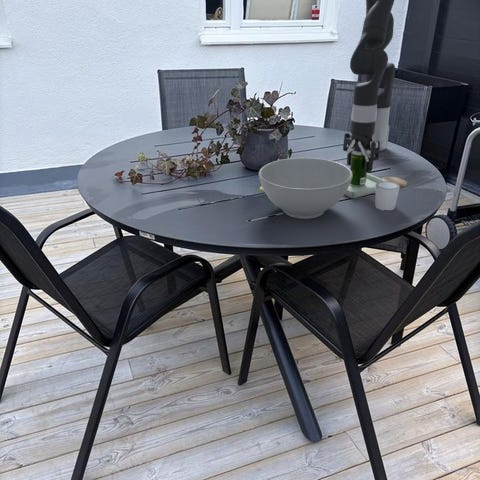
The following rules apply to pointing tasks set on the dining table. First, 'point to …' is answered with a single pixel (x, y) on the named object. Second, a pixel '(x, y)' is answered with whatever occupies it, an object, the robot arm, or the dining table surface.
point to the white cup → (386, 195)
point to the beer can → (358, 168)
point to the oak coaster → (396, 181)
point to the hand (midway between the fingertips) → (358, 168)
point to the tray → (364, 187)
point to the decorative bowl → (305, 185)
